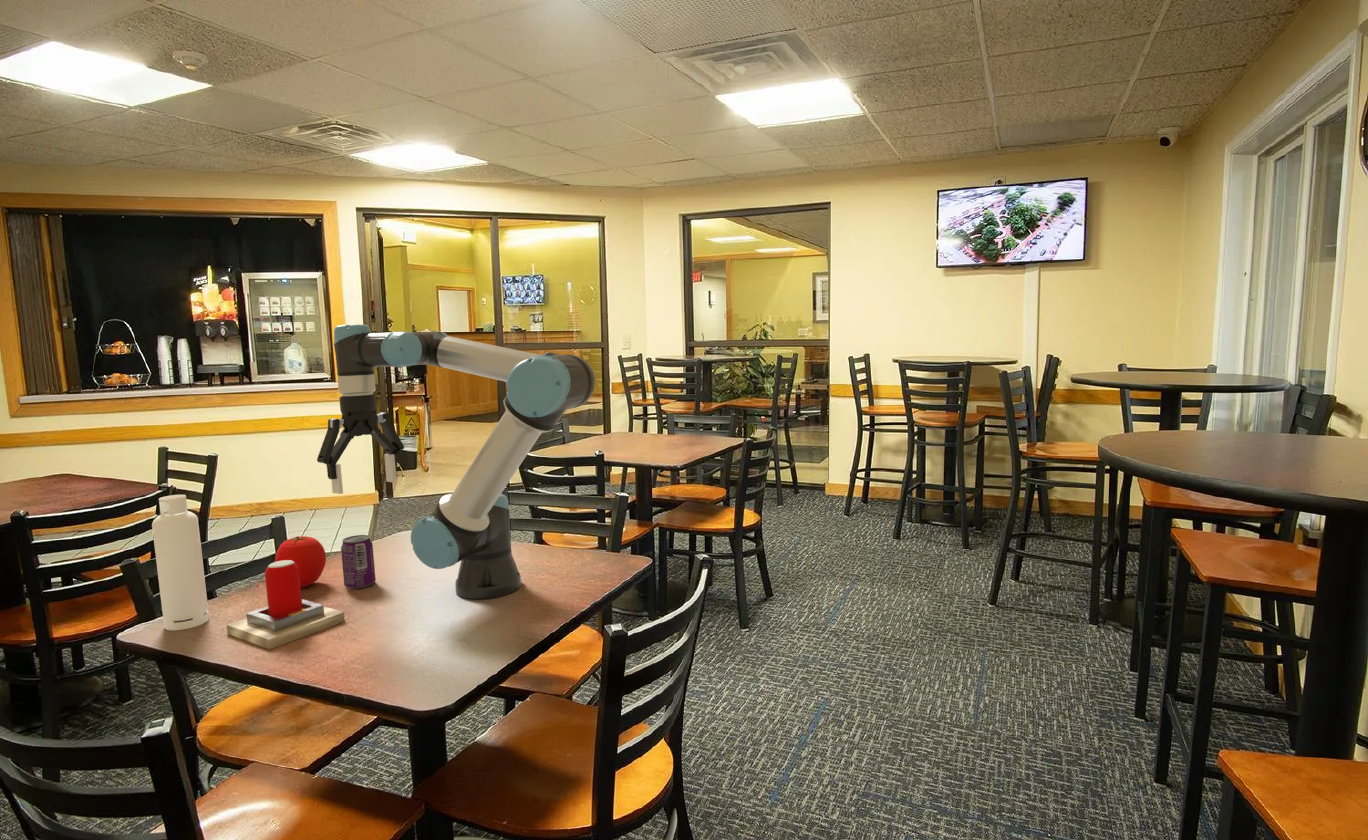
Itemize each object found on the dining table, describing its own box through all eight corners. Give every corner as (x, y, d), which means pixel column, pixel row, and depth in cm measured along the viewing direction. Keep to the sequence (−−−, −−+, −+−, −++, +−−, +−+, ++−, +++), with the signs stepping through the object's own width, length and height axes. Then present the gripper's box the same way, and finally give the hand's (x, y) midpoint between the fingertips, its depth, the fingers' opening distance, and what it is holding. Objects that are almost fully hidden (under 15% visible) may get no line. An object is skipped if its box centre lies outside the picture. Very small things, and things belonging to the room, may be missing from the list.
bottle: (217, 617, 161) (204, 493, 157) (182, 632, 153) (166, 502, 150) (191, 614, 163) (177, 492, 160) (155, 628, 156) (139, 500, 152)
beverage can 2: (381, 580, 182) (377, 534, 181) (366, 590, 175) (362, 542, 174) (354, 580, 183) (350, 534, 182) (338, 590, 176) (334, 542, 175)
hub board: (344, 620, 156) (343, 612, 156) (269, 649, 143) (268, 639, 142) (302, 608, 165) (301, 599, 164) (227, 634, 151) (226, 624, 151)
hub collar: (324, 614, 155) (323, 603, 155) (275, 631, 146) (273, 620, 146) (296, 606, 161) (295, 596, 160) (247, 622, 152) (246, 612, 151)
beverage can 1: (302, 620, 152) (296, 564, 150) (268, 626, 149) (262, 569, 148) (304, 610, 157) (298, 557, 156) (271, 616, 155) (265, 561, 154)
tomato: (294, 579, 186) (289, 530, 184) (335, 578, 185) (331, 529, 184) (267, 594, 175) (262, 543, 173) (311, 593, 174) (306, 541, 173)
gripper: (394, 389, 175) (401, 476, 177) (293, 398, 154) (302, 497, 156) (415, 389, 171) (422, 478, 173) (314, 399, 150) (323, 500, 152)
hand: (365, 487), depth 165 cm, fingers open, 13 cm apart
